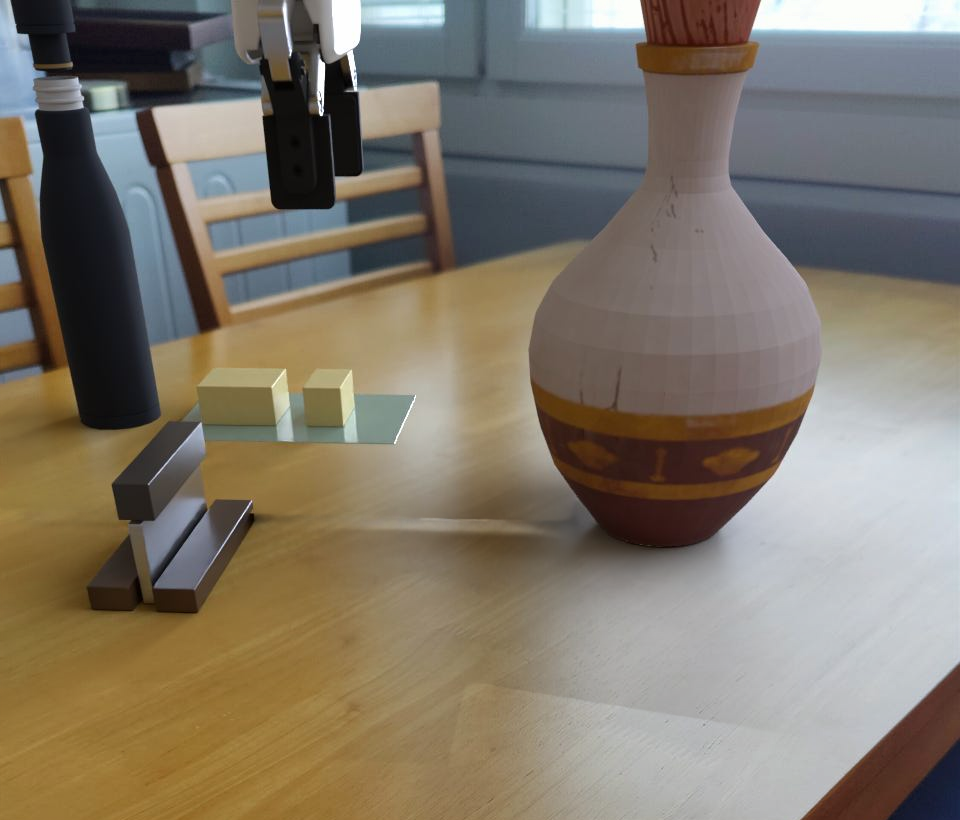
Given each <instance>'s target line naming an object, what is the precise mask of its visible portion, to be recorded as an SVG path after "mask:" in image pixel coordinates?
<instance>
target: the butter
mask: <svg viewBox="0 0 960 820" xmlns="http://www.w3.org/2000/svg"><path fill="white" fill-rule="evenodd" d="M196 392H197V398H198V402H199V406H200V412H201V419H202V424H203V425H258V426H276V425H277V424H278V422H279V421H280V419H281V418H282V416H283V415H284V413H285V412H286V411H287V409H288V408H289V406H290V402H289V393H290V392H289V384H288V375H287V369H286V368H276V367H275V368H273V367H272V368H271V367H269V368H268V367H267V368H265V367H264V368H263V367H261V368H260V367H213V368H212V369H211V370H210V371H209V372H208V373H207V374H206V375H205V377H204V378H203V379H202V380H200V382H199V383H198V384H197V385H196Z"/></svg>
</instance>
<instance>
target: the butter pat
mask: <svg viewBox="0 0 960 820" xmlns="http://www.w3.org/2000/svg"><path fill="white" fill-rule="evenodd" d="M302 393H303V399H304V409H305V419H306V426H313V427H344V425H345V423H346V421H347V420H348V418H349V416H350V414H351V412H352V411H353V409H354V407H355V404H354V394H355V393H354V379H353V369H350V368H349V369H347V368H346V369H345V368H343V369H342V368H315V369H314V371H313V372H312V373H311V375H310V376H309V377H308V379H307V381H306V382H305V384H304V385H303V386H302Z"/></svg>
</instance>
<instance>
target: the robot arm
mask: <svg viewBox="0 0 960 820" xmlns="http://www.w3.org/2000/svg"><path fill="white" fill-rule="evenodd" d="M230 5H231V6H230V8H231V19H232V31H233V32H232V33H233V43H234V48H235V52H236V54H237V55H238V56H239V57H240V60H242V61H243V62H244V63H245V64H247V65H258V64H259V65H258V69H259V74H260V76H261V85H260V86H261V87H260V104H261V111H262V114H263V115H262V116H261V118H262V119H261V120H262V127H263V139H264V146H265V147H264V148H265V156H266V165H267V167H266V168H267V174H268V186H269V194H270V202H271V205H272V206H273V208H274V209H276V210H281V211H282V210H283V211H284V210H289V211H290V210H295V211H296V210H330V209H332V208H334V206H335V205H336V203H337V188H336V178H339V177H341V178H343V177H345V178H346V177H349V178H350V177H351V178H352V177H353V178H355V177H356V178H357V177H359V176H361V174H362V173H363V172H364V169H365V168H364V167H365V165H364V150H363V149H364V148H363V133H362V120H361V119H362V116H361V102H360V101H361V100H360V91H357V84H358V83H357V71H356V64H355V58H354V53H353V52H354V51H353V50H354V49H355V48H356V47H357V46H358V44H360V39H361V22H362V21H361V19H362V17H361V0H230Z"/></svg>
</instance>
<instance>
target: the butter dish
mask: <svg viewBox="0 0 960 820" xmlns="http://www.w3.org/2000/svg"><path fill="white" fill-rule="evenodd" d="M288 393H289V402H290V406H289V408H288V409H287V411H286V412H285V413H284V415H283V416H282V418H281V419H280V421H279V422H278V424H277V425H276V426H258V425H203V424H202V429H203V435H204V442H251V443H253V442H256V443H301V444H303V443H306V444H307V443H308V444H309V443H311V444H314V443H315V444H359V445H360V444H361V445H362V444H365V445H369V444H370V445H395V444H396V443H397V441H398V438H399V435H400V433H401V431H402V428H403V426H404V424H405V422H406V419H407V417H408V416H409V413H410V410H411V408H412V406H413V405H414V402H415V399H416V398H417V394H379V393H376V394H375V393H373V394H371V393H369V394H368V393H354V404H355V407H354V409H353V411H352V412H351V414H350V416H349V418H348V420H347V421H346V423H345V425H344V427H313V426H306V419H305V409H304V399H303V392H301V393H300V392H288ZM181 421H184V422H201V423H202V419H201V412H200V406H199V401H198V402H196V404H195V405H194V406H193V407H192V408H191V409H190V410H189V411H188V413H187V414H186V415H185V416H184V417H183V418H182V420H181Z"/></svg>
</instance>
